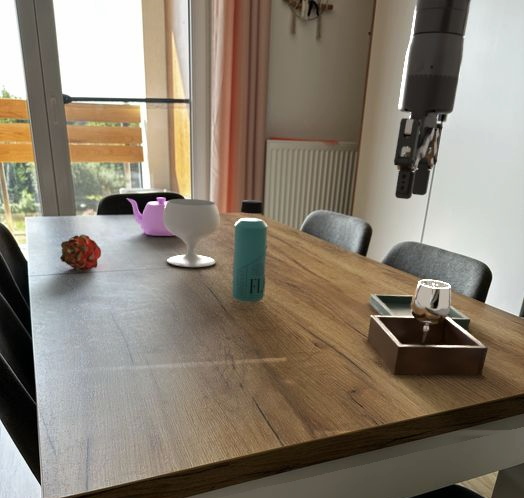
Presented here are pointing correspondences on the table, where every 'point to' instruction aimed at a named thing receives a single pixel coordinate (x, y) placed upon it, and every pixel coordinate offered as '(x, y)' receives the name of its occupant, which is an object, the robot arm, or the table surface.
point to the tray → (409, 308)
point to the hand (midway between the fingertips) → (411, 196)
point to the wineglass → (431, 303)
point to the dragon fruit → (80, 252)
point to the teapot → (152, 217)
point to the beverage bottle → (249, 254)
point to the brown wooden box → (425, 347)
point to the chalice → (191, 227)
